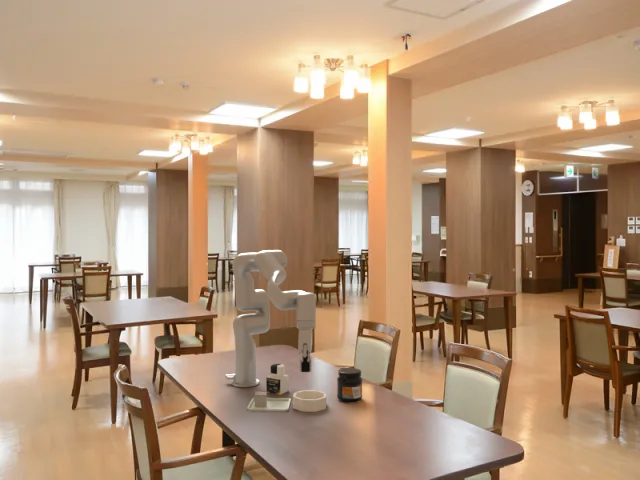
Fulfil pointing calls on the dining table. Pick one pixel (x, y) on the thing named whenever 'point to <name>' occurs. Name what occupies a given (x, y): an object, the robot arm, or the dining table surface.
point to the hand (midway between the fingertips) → (305, 370)
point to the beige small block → (260, 399)
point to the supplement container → (349, 385)
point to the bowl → (309, 400)
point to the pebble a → (309, 361)
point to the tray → (271, 405)
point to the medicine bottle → (277, 380)
